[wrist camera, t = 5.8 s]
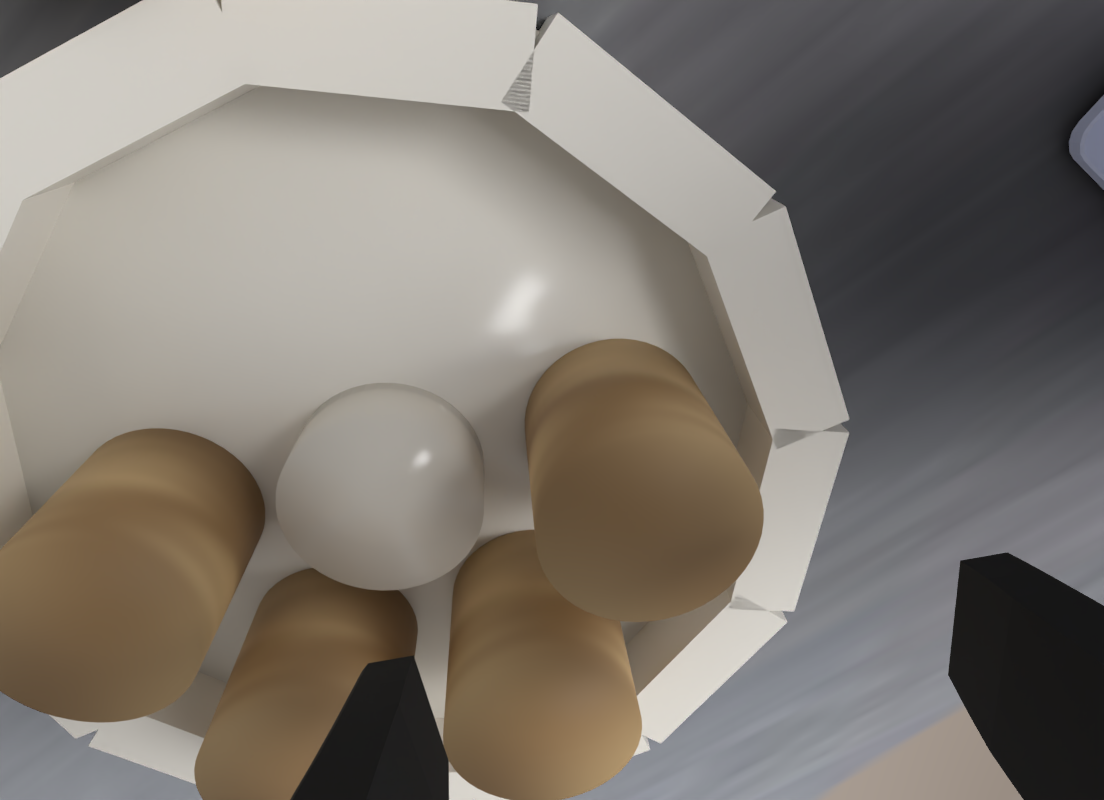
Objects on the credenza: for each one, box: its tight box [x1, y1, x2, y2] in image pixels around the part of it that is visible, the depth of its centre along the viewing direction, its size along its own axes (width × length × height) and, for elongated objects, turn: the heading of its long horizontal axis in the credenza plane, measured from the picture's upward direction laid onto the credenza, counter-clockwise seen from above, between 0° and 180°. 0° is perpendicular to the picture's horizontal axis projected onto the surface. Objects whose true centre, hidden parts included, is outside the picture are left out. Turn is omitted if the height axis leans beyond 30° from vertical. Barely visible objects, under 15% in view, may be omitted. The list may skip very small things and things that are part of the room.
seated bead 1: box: [0, 428, 265, 723], centre depth 14 cm, size 4×4×4 cm
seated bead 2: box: [194, 568, 418, 800], centre depth 16 cm, size 4×4×4 cm
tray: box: [0, 0, 850, 800], centre depth 15 cm, size 18×18×2 cm
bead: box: [525, 339, 764, 622], centre depth 14 cm, size 4×4×4 cm
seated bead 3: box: [443, 530, 642, 800], centre depth 16 cm, size 4×4×4 cm
